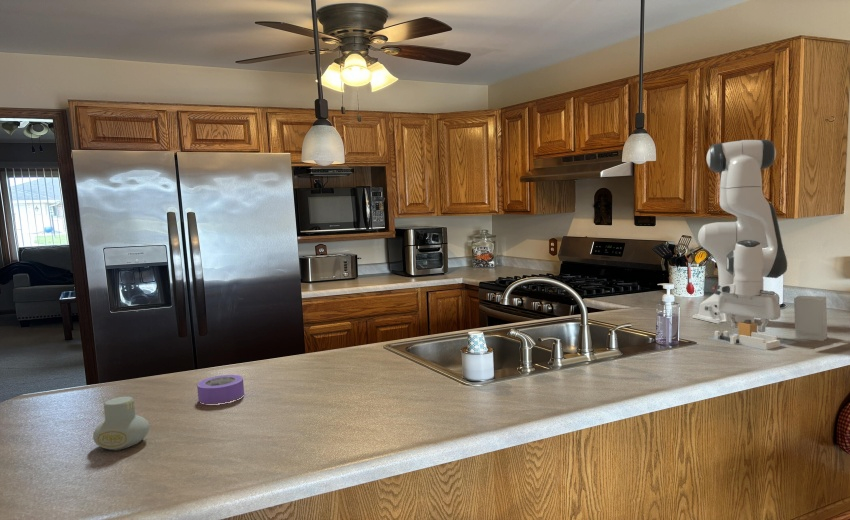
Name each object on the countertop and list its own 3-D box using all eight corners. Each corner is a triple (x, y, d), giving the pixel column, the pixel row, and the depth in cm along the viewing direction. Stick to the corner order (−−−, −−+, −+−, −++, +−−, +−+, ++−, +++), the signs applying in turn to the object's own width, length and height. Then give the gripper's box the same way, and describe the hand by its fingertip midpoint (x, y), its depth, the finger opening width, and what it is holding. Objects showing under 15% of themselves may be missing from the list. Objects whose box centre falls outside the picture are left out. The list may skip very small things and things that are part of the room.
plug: (738, 337, 198) (738, 319, 198) (745, 335, 200) (745, 318, 200) (749, 339, 195) (749, 321, 194) (757, 337, 197) (757, 320, 196)
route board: (706, 341, 198) (706, 330, 198) (739, 334, 207) (739, 323, 206) (763, 353, 181) (763, 340, 180) (797, 345, 189) (797, 333, 189)
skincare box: (827, 340, 193) (828, 296, 192) (822, 344, 189) (823, 299, 187) (798, 337, 199) (799, 294, 198) (793, 340, 195) (793, 296, 194)
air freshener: (156, 436, 132) (152, 393, 131) (139, 451, 124) (135, 405, 123) (107, 438, 132) (103, 395, 131) (87, 453, 124) (83, 408, 123)
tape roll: (196, 408, 150) (194, 389, 150) (200, 395, 162) (199, 377, 161) (243, 402, 153) (242, 384, 153) (245, 389, 165) (243, 372, 164)
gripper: (785, 291, 188) (784, 333, 189) (726, 285, 206) (726, 324, 207) (773, 292, 185) (772, 335, 186) (715, 286, 203) (714, 326, 204)
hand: (747, 329), depth 197 cm, fingers open, 8 cm apart
